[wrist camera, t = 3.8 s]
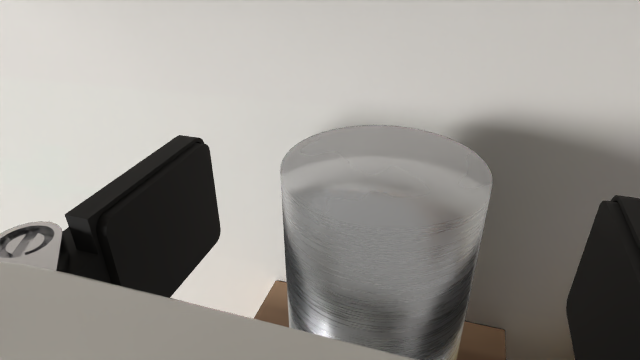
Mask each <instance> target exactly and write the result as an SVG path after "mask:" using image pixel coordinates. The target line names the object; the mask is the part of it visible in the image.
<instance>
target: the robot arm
mask: <svg viewBox="0 0 640 360" xmlns="http://www.w3.org/2000/svg"><path fill="white" fill-rule="evenodd" d="M65 217H66V220H67V222H68V225H69V227H68V228H67V229H66V230H64V231H62V229H61V227H60V226H59V225H57V224H55V223H52V222H43V221H39V222H31V223H26V224H22V225H18V226H16V227H13V228H11V229H8V230H6V231H4V232H2V233H1V234H0V360H417V359H413V358H409V357H405V356H401V355H397V354H393V353H389V352H385V351H381V350H377V349H373V348H369V347H365V346H361V345H357V344H353V343H349V342H345V341H341V340H337V339H333V338H329V337H325V336H321V335H317V334H313V333H309V332H305V331H301V330H297V329H293V328H289V327H285V326H281V325H277V324H273V323H269V322H265V321H261V320H257V319H253V318H249V317H245V316H241V315H237V314H233V313H229V312H225V311H221V310H217V309H213V308H209V307H205V306H200V305H196V304H192V303H188V302H184V301H180V300H176V299H172V298H170V297H171V296H172V295H173V293H174V292H175V291H176V290H177V289H178V287H179V286H180V285H181V284H182V283H183V282H184V280H185V279H186V278H187V277H188V276H189V274H190V273H191V272H192V271H193V270H194V269H195V267H196V266H197V265H198V264H199V263H200V261H201V260H202V259H203V258H204V257H205V256H206V254H207V253H208V252H209V251H210V250H211V248H212V247H213V246H214V245H215V244H216V242H217V241H218V239H219V236H220V221H219V214H218V207H217V200H216V192H215V185H214V178H213V171H212V163H211V156H210V150H209V147H208V145H206V144H204V142H203V140H202V139H201V138H196V137H189V136H181V135H179V136H177V137H175V138H174V139H172V140H171V141H170V142H168V143H167V144H165V145H164V146H162V147H161V148H160V149H158V150H157V151H155V152H154V153H152V154H151V155H150V156H148V157H147V158H145V159H144V160H142V161H141V162H139V163H138V164H137V165H135V166H134V167H132V168H131V169H129V170H128V171H127V172H125V173H124V174H122V175H121V176H119V177H118V178H117V179H115V180H114V181H112V182H111V183H109V184H108V185H106V186H105V187H104V188H102V189H101V190H99V191H98V192H96V193H95V194H94V195H92V196H91V197H89V198H88V199H86V200H85V201H84V202H82V203H81V204H79V205H78V206H76V207H75V208H74V209H72V210H71V211H69V212H68V213H66V214H65ZM566 312H567V318H568V324H569V329H570V334H571V339H572V345H573V350H574V355H575V360H640V199H639V198H632V197H625V196H617V195H616V196H614V197H613V198H612V200H611V201H602V202H601V204H600V206H599V209H598V212H597V214H596V217H595V220H594V223H593V226H592V229H591V232H590V235H589V238H588V240H587V243H586V246H585V249H584V252H583V255H582V258H581V261H580V264H579V266H578V269H577V272H576V275H575V278H574V281H573V284H572V287H571V289H570V292H569V295H568V299H567V306H566Z"/></svg>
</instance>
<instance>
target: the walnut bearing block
mask: <svg viewBox="0 0 640 360" xmlns="http://www.w3.org/2000/svg"><path fill="white" fill-rule="evenodd" d="M254 319H257V320H261V321H265V322H269V323H273V324H277V325H281V326H285V327H289V313H288V296H287V283H285V282H281V281H275V283H274V285H273V286H272V288H271V290H270V292H269V293H268V295H267V297H266V298H265V300H264V302H263V304H262V305H261V307H260V309H259V311H258V312H257V314H256V316H255V317H254ZM457 360H506V349H505V330H502V329H497V328H493V327H488V326H484V325H479V324H474V323H470V322H465V321H464V326H463V331H462V336H461V340H460V345H459V350H458V355H457Z"/></svg>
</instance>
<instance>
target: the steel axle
mask: <svg viewBox="0 0 640 360" xmlns="http://www.w3.org/2000/svg"><path fill="white" fill-rule="evenodd" d="M280 173H281V191H282V208H283V226H284V243H285V261H286V278H287V296H288V313H289V328H293V329H297V330H301V331H305V332H309V333H313V334H317V335H321V336H325V337H329V338H333V339H337V340H341V341H345V342H349V343H353V344H357V345H361V346H365V347H369V348H373V349H377V350H381V351H385V352H389V353H393V354H397V355H401V356H405V357H409V358H413V359H417V360H457V355H458V350H459V345H460V340H461V336H462V331H463V326H464V321H465V316H466V311H467V306H468V302H469V297H470V292H471V287H472V282H473V277H474V273H475V268H476V263H477V258H478V253H479V248H480V243H481V239H482V234H483V229H484V224H485V219H486V214H487V209H488V205H489V200H490V195H491V190H492V183H493V178H492V174H491V171H490V169H489V167H488V165H487V164H486V163H485V161H484V160H483V159H482V158H481V157H480V156H479V155H478V154H476V153H475V152H474V151H472V150H471V149H469V148H468V147H466V146H464V145H462V144H461V143H458V142H456V141H454V140H452V139H449V138H447V137H444V136H441V135H438V134H435V133H431V132H427V131H423V130H419V129H413V128H407V127H399V126H386V125H365V126H352V127H345V128H339V129H334V130H329V131H326V132H322V133H319V134H316V135H314V136H311V137H309V138H307V139H305V140H303V141H301V142H300V143H298V144H297V145H295V146H294V147H293V148H291V149H290V150H289V152H288V153H287V154H286V155H285V157H284V159H283V160H282V164H281V172H280Z"/></svg>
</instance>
